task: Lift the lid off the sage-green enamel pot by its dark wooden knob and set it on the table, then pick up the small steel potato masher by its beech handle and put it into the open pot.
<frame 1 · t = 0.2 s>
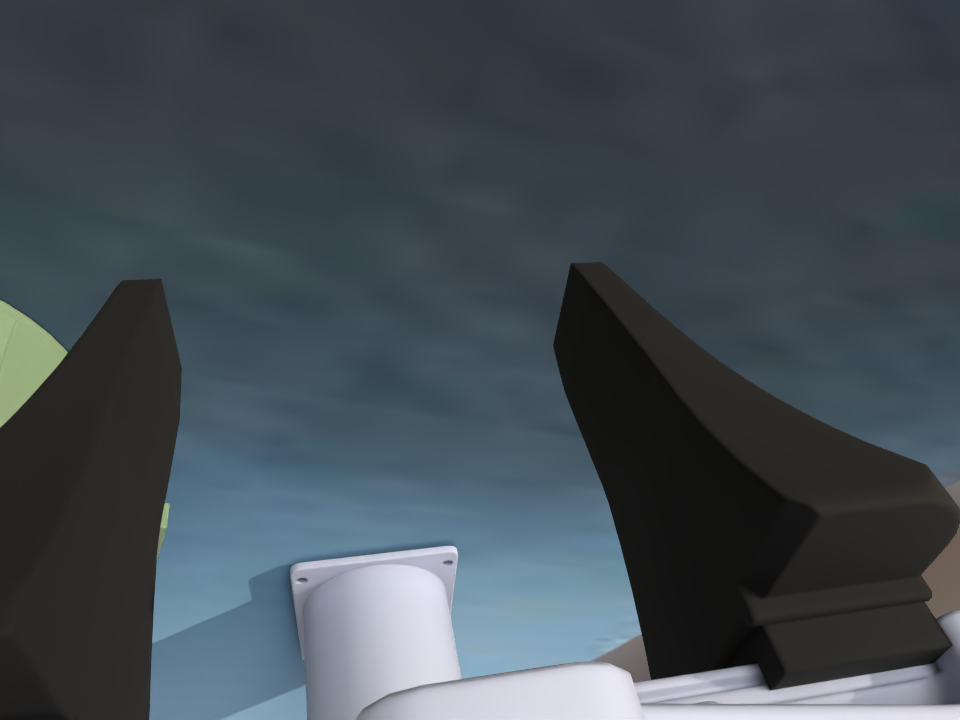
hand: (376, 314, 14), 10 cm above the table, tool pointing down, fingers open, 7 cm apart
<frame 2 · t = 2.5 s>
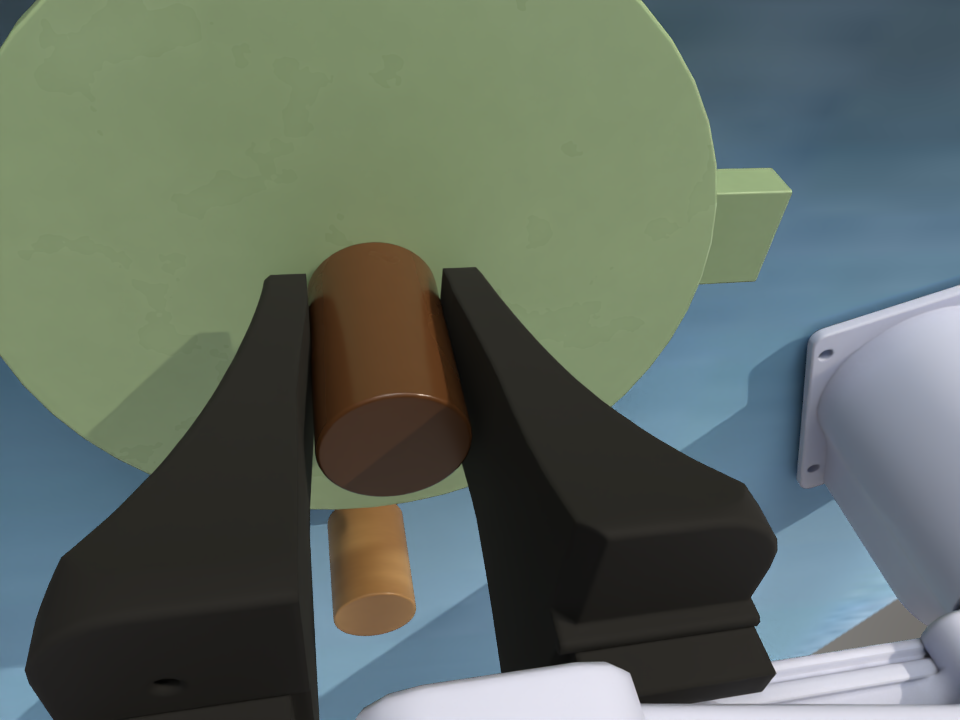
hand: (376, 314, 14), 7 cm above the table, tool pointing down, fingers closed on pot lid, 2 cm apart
pot lid: (369, 277, 15), point 5 cm above the table, touching gripper, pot
masher: (358, 457, 27), on the table
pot: (349, 138, 19), on the table
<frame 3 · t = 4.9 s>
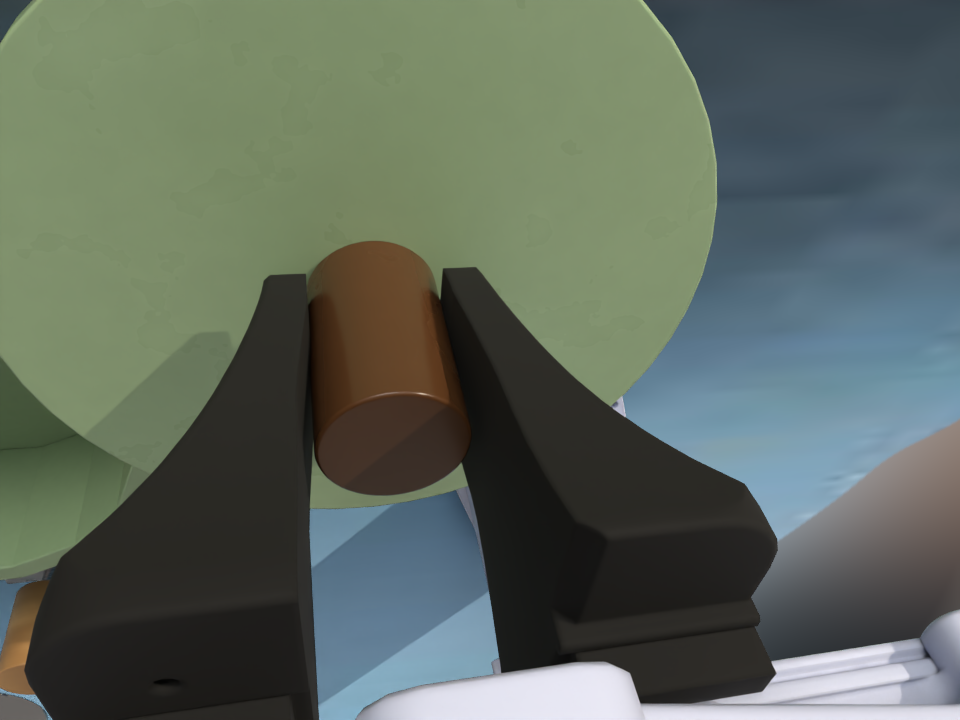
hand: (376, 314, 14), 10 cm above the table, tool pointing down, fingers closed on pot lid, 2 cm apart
pot lid: (369, 276, 15), point 9 cm above the table, touching gripper
masher: (63, 540, 32), on the table
when the fingers open (2 cm above the table, at t = 7.2 s): pot lid stays where it is, point 1 cm above the table.
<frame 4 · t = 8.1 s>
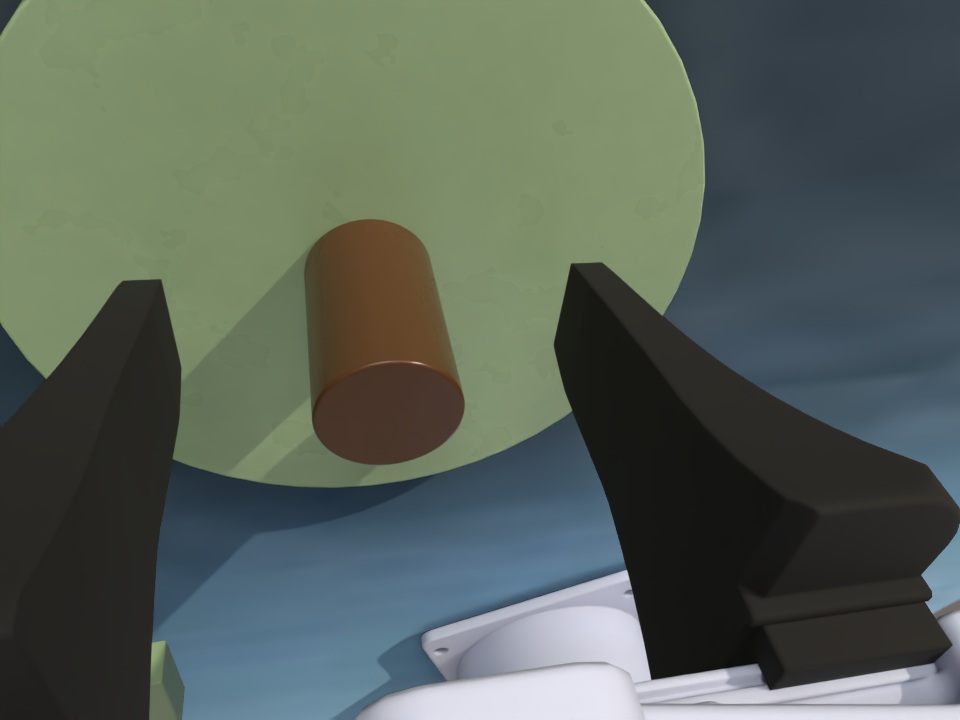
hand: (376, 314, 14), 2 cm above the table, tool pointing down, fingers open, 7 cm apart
pot lid: (366, 255, 15), point 1 cm above the table
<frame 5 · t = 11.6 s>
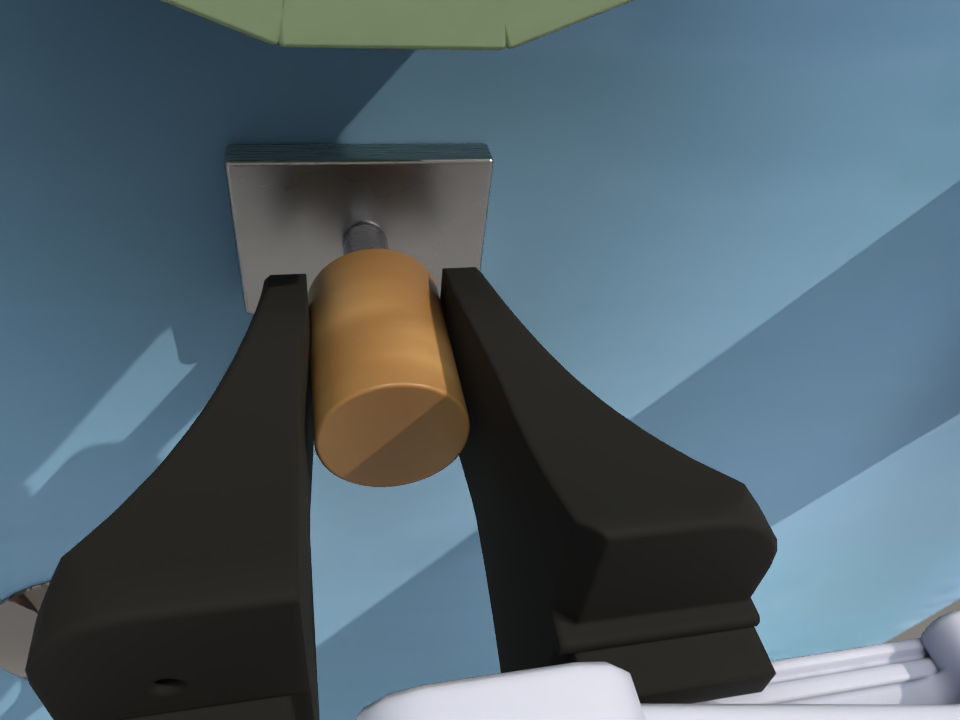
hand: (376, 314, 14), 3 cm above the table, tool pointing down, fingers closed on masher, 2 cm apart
wine glass: (108, 630, 25), on the table
masher: (361, 221, 16), on the table, touching gripper
when the fingers open (3 cm above the table, at t = 16.1 s): masher stays where it is, resting on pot.
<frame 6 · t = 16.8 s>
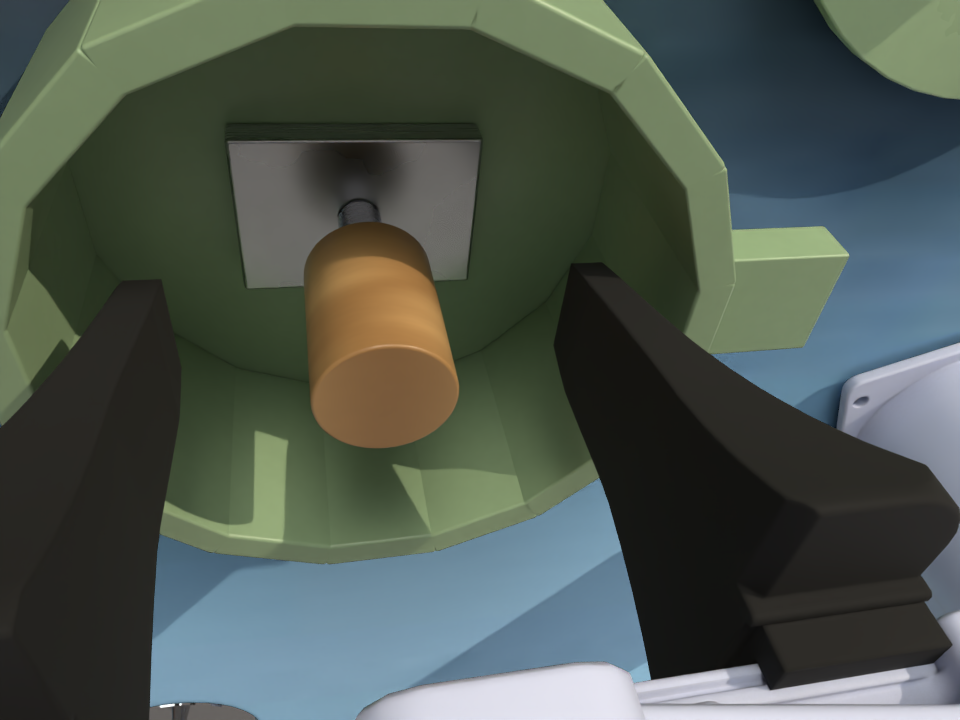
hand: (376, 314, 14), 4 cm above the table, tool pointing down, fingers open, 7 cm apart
masher: (356, 200, 17), point 1 cm above the table, touching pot
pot: (356, 188, 17), on the table
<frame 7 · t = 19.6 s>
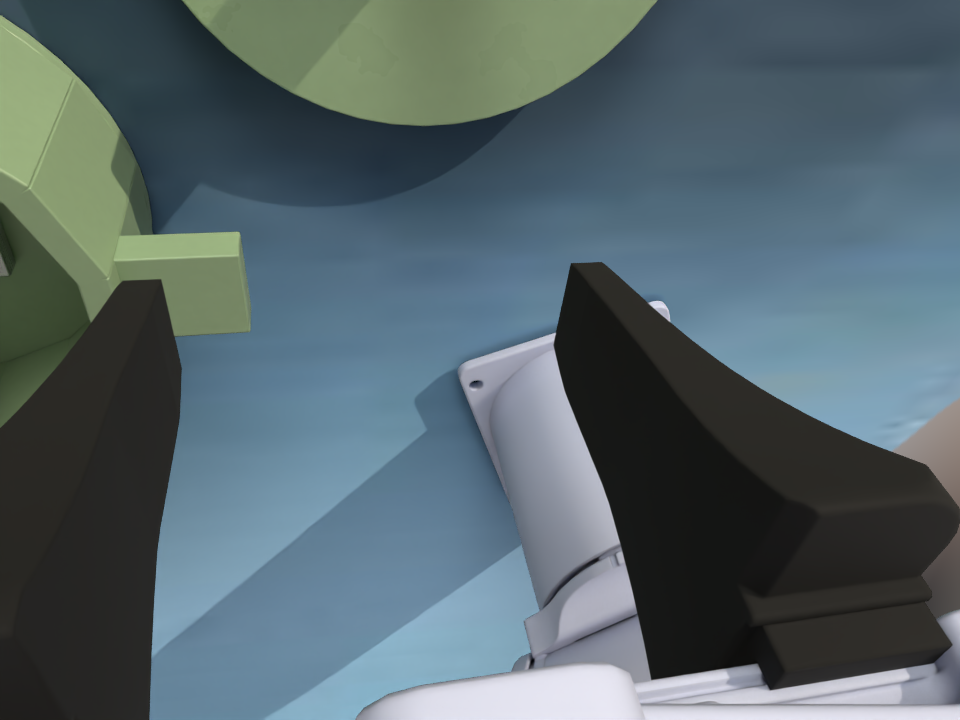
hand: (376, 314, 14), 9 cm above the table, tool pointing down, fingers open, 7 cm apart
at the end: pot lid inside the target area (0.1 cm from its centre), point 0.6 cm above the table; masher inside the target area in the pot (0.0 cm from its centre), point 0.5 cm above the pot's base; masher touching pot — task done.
